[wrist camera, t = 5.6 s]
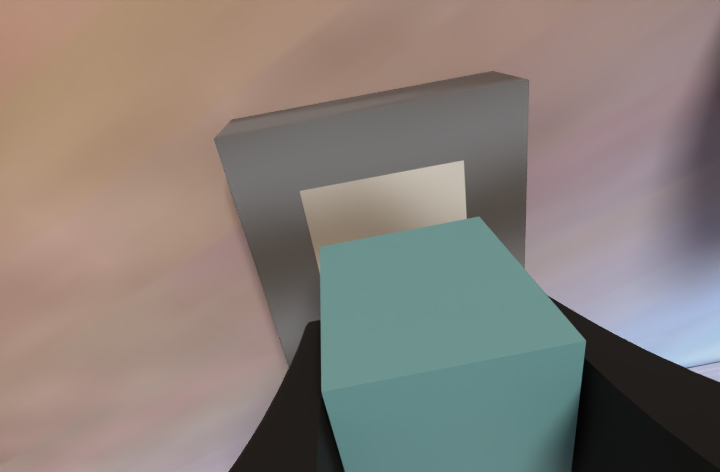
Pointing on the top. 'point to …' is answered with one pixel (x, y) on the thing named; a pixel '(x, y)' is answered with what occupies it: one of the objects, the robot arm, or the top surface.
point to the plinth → (374, 177)
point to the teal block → (445, 356)
